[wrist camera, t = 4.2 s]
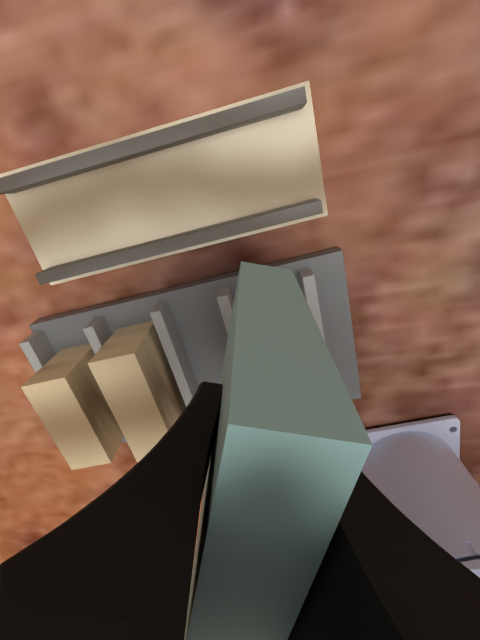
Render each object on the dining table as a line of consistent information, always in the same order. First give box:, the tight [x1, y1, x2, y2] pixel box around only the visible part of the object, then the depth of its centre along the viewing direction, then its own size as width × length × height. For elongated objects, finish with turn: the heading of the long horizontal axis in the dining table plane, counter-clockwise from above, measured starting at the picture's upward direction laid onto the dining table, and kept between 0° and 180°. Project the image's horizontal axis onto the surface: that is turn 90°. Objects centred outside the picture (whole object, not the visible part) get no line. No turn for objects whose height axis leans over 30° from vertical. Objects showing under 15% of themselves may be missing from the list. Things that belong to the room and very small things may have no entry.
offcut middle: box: [87, 321, 186, 463], centre depth 19 cm, size 7×2×4 cm, turn 14°
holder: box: [0, 81, 328, 285], centre depth 17 cm, size 6×16×2 cm, turn 104°
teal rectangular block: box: [184, 261, 372, 640], centre depth 10 cm, size 8×2×9 cm, turn 170°
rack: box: [19, 247, 361, 442], centre depth 21 cm, size 10×19×2 cm, turn 104°
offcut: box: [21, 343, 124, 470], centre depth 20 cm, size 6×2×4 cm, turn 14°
